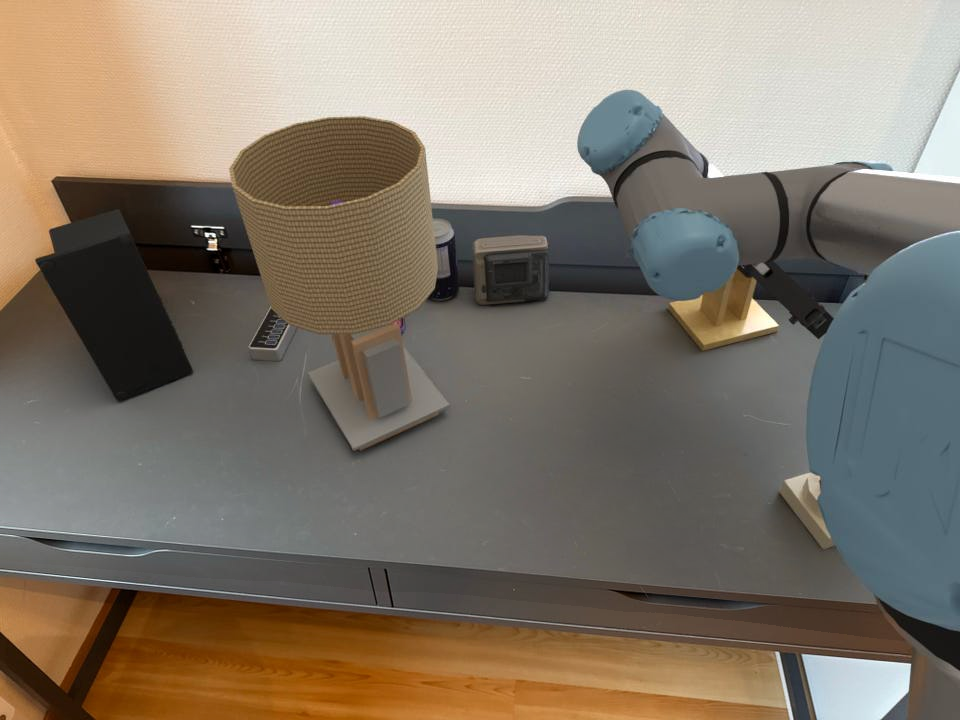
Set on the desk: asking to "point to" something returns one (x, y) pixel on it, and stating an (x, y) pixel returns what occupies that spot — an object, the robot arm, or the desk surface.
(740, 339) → the bracket
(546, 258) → the camera
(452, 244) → the beverage can
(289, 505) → the desk surface
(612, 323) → the desk surface
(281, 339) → the multiport hub
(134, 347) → the bookend
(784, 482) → the button box
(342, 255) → the desk lamp
